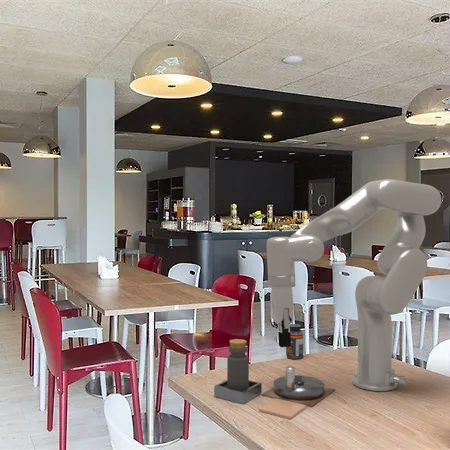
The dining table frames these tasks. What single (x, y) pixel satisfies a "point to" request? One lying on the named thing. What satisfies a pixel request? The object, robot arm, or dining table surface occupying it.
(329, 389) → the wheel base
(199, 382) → the dining table surface
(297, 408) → the pad
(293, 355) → the supplement bottle
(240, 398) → the collar
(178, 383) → the dining table surface
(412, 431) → the dining table surface
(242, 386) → the bottle
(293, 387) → the handwheel
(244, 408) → the dining table surface
